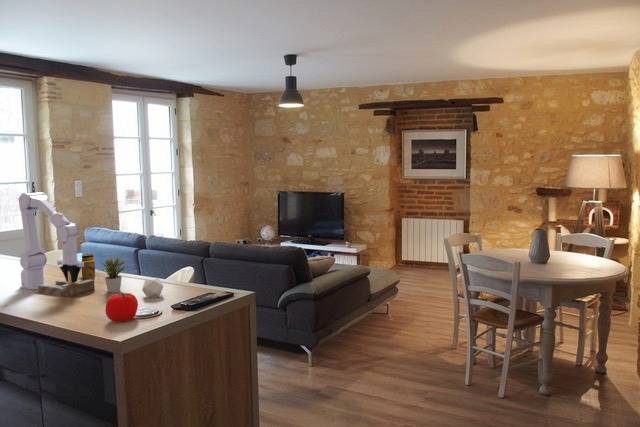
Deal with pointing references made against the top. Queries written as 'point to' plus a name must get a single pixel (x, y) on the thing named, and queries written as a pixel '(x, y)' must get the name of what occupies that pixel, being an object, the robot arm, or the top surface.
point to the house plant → (113, 274)
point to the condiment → (88, 268)
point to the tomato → (121, 307)
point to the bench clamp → (68, 288)
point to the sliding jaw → (68, 281)
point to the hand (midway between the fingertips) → (71, 281)
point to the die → (152, 287)
